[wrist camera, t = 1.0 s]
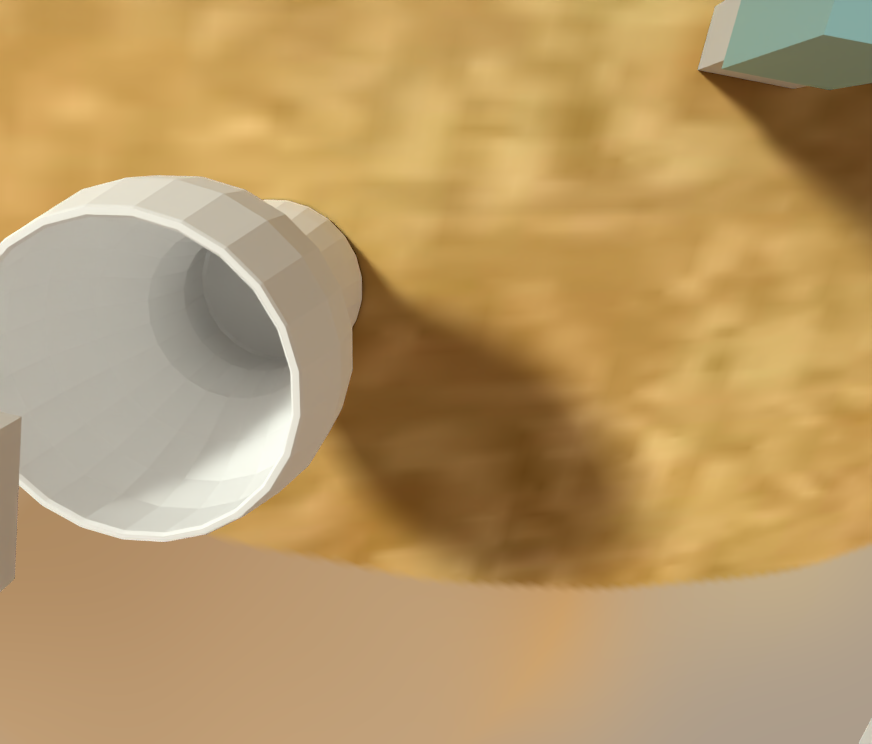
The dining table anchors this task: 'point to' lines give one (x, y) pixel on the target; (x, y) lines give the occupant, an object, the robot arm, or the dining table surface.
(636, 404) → the dining table surface
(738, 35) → the long teal block
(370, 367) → the dining table surface
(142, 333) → the cup
